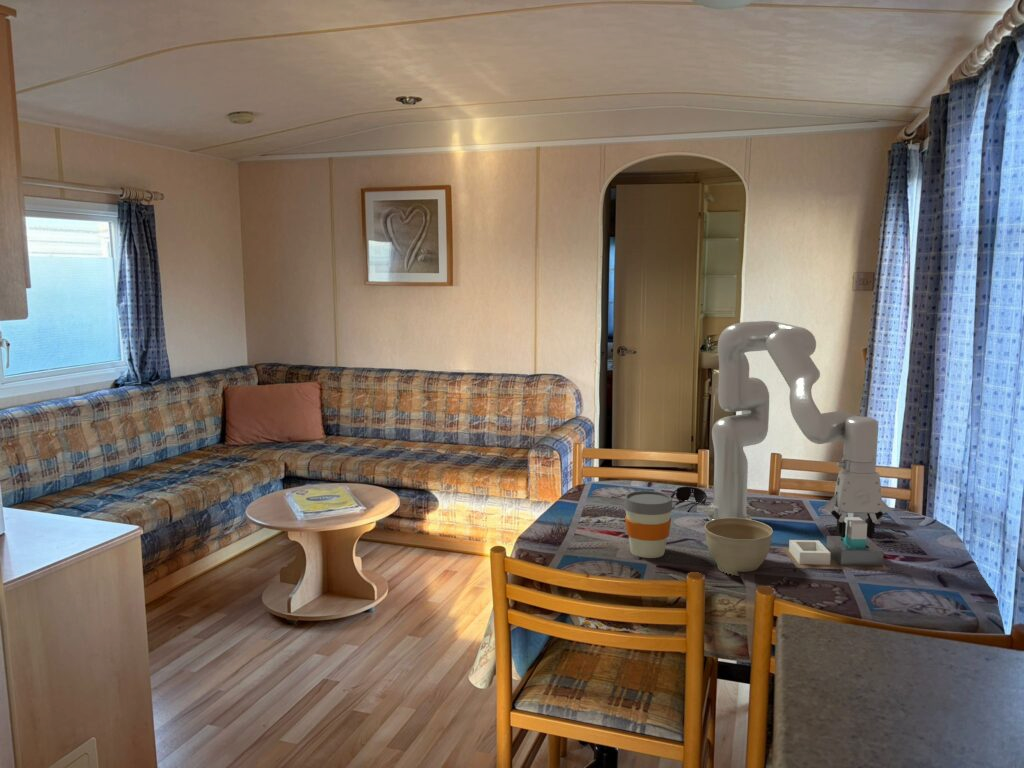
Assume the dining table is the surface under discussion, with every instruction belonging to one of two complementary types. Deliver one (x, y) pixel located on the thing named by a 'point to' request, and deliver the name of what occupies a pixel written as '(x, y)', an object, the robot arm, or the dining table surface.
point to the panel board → (832, 565)
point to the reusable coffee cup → (647, 522)
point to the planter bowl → (738, 543)
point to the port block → (855, 553)
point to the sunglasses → (685, 493)
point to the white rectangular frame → (809, 552)
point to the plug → (855, 532)
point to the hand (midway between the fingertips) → (855, 535)
